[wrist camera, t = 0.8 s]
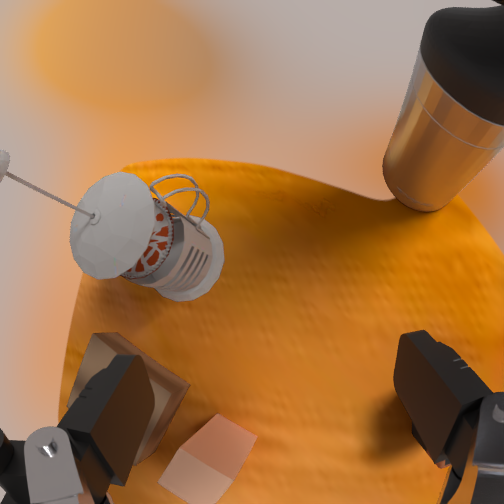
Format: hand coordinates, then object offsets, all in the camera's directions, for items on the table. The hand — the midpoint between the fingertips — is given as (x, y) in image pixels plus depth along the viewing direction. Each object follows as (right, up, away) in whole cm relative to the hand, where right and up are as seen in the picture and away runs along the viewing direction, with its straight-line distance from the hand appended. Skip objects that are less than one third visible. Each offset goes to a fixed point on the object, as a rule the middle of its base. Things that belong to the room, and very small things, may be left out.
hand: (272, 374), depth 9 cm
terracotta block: (-3, -17, +20) cm, 26 cm away
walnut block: (-14, -13, +23) cm, 31 cm away
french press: (-8, +4, +25) cm, 26 cm away
